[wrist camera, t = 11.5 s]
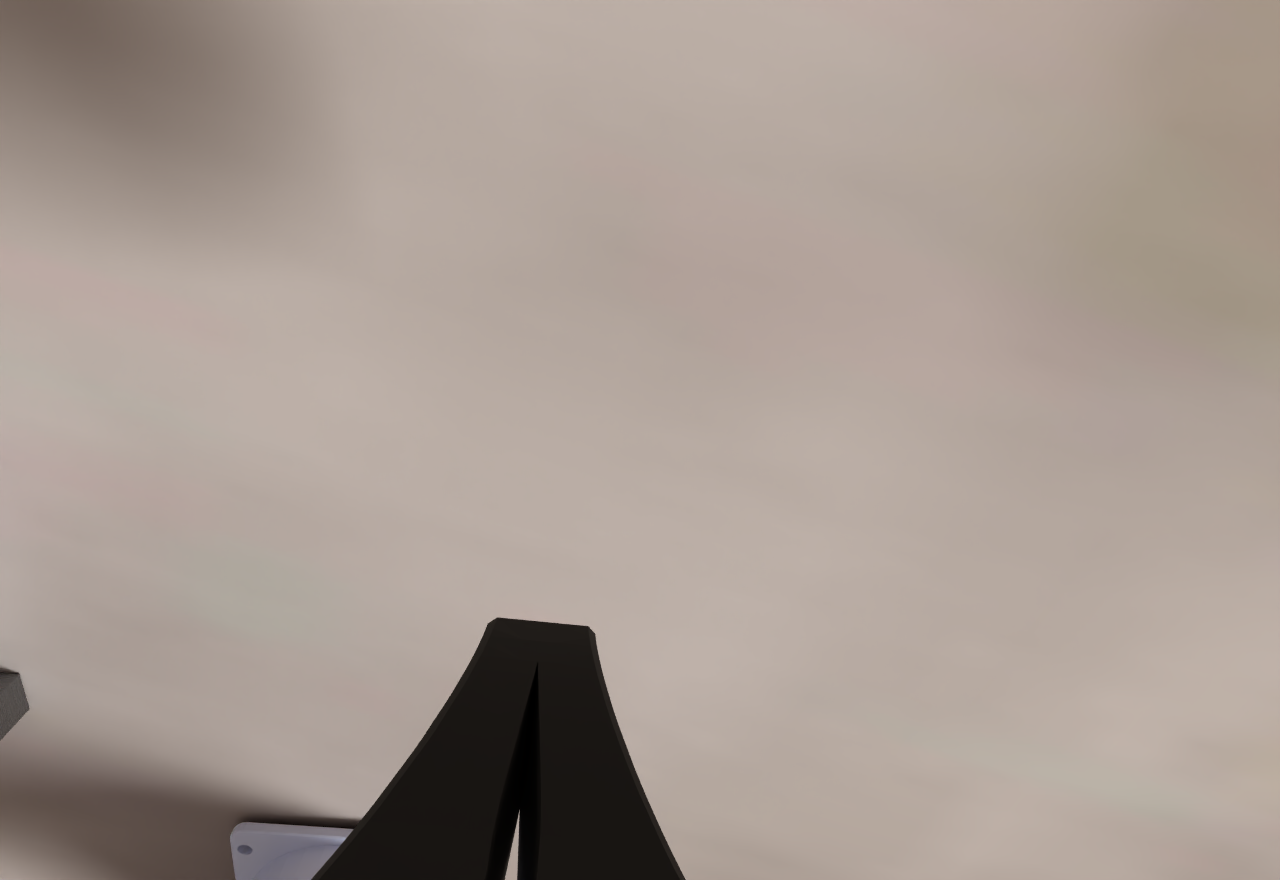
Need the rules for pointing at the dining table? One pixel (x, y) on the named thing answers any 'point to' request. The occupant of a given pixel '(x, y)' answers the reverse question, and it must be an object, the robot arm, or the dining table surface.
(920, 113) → the dining table surface
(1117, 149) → the dining table surface
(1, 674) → the can dock
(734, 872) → the dining table surface
